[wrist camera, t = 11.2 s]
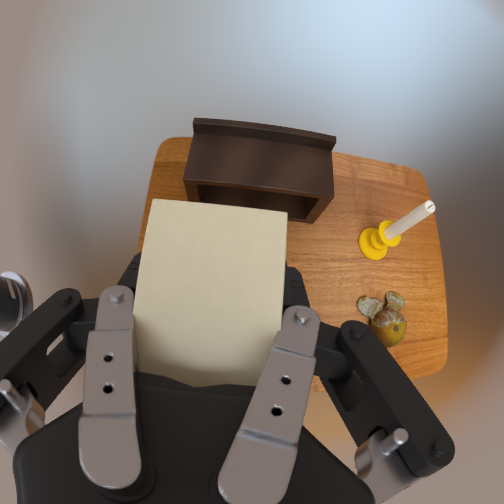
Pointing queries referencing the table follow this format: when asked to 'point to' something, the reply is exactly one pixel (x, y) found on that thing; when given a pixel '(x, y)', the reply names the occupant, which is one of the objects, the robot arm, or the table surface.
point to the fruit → (385, 318)
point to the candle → (391, 232)
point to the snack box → (209, 291)
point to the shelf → (260, 167)
